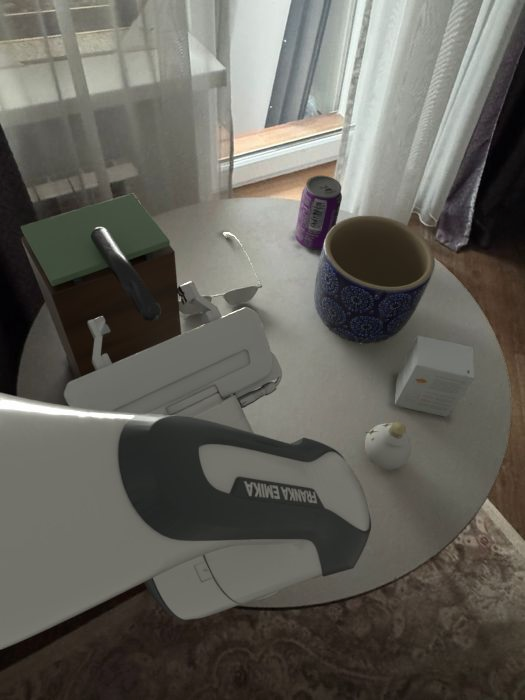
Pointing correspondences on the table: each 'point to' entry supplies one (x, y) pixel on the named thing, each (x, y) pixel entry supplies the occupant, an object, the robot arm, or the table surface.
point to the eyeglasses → (230, 296)
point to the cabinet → (111, 309)
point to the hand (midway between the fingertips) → (141, 301)
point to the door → (100, 246)
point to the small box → (434, 376)
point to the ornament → (388, 445)
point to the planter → (371, 277)
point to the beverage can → (318, 210)
